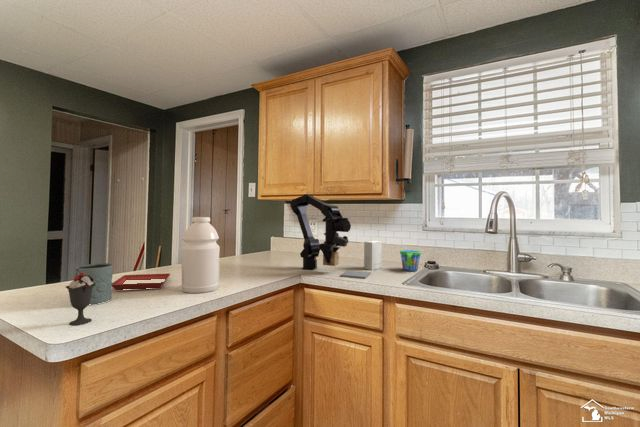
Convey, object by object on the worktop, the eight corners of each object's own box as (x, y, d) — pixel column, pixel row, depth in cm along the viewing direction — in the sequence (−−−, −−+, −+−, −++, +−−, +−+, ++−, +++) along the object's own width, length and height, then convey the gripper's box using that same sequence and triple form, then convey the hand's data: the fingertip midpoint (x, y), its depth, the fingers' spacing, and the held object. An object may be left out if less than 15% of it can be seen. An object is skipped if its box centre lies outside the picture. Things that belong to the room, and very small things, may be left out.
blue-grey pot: (106, 304, 100) (106, 267, 100) (69, 307, 98) (69, 269, 97) (117, 296, 110) (117, 262, 110) (83, 298, 107) (83, 263, 107)
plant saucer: (170, 280, 138) (170, 272, 138) (163, 290, 120) (163, 281, 120) (123, 282, 132) (123, 274, 132) (109, 293, 115) (109, 284, 115)
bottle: (202, 295, 113) (202, 217, 112) (172, 291, 118) (173, 217, 117) (226, 286, 126) (227, 217, 126) (199, 283, 131) (199, 216, 130)
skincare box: (373, 267, 173) (374, 240, 172) (382, 268, 168) (382, 241, 168) (363, 268, 167) (363, 241, 167) (371, 270, 163) (372, 242, 162)
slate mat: (340, 276, 147) (340, 274, 147) (347, 271, 158) (347, 270, 158) (365, 278, 143) (365, 277, 143) (371, 273, 154) (371, 272, 154)
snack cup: (403, 267, 174) (403, 248, 174) (423, 268, 169) (423, 250, 169) (396, 271, 160) (396, 252, 160) (417, 274, 155) (418, 253, 155)
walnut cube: (323, 265, 153) (323, 252, 153) (327, 263, 159) (327, 251, 159) (334, 265, 151) (334, 253, 151) (338, 264, 157) (338, 252, 157)
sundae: (67, 328, 80) (67, 270, 80) (62, 322, 85) (62, 267, 85) (98, 322, 85) (98, 267, 85) (92, 316, 90) (92, 264, 90)
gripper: (340, 232, 143) (340, 266, 143) (351, 230, 161) (351, 260, 161) (318, 231, 147) (318, 264, 147) (331, 229, 165) (331, 259, 165)
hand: (330, 262), depth 155 cm, fingers closed on walnut cube, 6 cm apart
